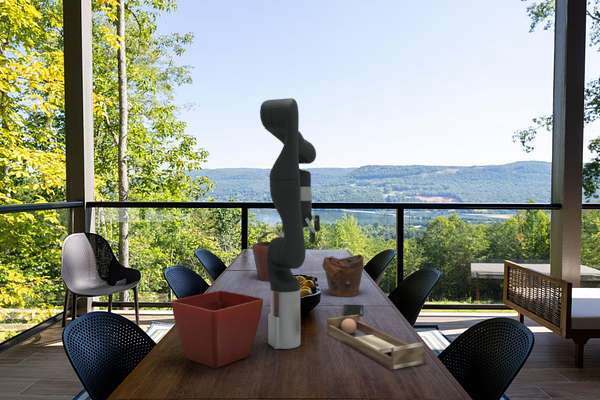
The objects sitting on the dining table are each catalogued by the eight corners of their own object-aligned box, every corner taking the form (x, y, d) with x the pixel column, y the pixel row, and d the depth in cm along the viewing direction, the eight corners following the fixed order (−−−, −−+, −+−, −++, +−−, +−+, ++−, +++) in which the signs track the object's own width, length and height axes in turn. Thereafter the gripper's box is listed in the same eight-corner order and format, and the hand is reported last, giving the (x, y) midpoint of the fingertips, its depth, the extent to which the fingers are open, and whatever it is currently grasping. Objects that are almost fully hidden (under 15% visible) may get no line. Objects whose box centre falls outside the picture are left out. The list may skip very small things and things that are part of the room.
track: (391, 370, 128) (391, 348, 128) (327, 333, 160) (327, 315, 160) (426, 363, 133) (426, 341, 133) (358, 329, 165) (358, 311, 165)
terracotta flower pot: (313, 293, 219) (314, 254, 218) (343, 287, 232) (344, 250, 232) (341, 301, 206) (342, 259, 205) (372, 294, 219) (372, 255, 218)
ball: (336, 324, 161) (342, 316, 158) (349, 322, 163) (355, 314, 160) (342, 337, 158) (347, 330, 155) (354, 335, 160) (361, 328, 157)
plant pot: (221, 342, 151) (220, 289, 151) (265, 356, 139) (265, 298, 138) (169, 359, 136) (169, 300, 136) (214, 376, 124) (213, 311, 124)
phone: (363, 305, 195) (363, 314, 181) (363, 307, 195) (363, 317, 181) (343, 304, 196) (342, 313, 182) (343, 307, 197) (342, 316, 182)
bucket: (248, 276, 262) (247, 230, 261) (285, 273, 271) (285, 229, 270) (264, 284, 240) (263, 234, 239) (303, 280, 249) (303, 232, 248)
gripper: (314, 198, 181) (314, 241, 181) (279, 199, 175) (279, 243, 175) (323, 199, 174) (323, 244, 174) (287, 199, 168) (287, 246, 168)
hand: (301, 243), depth 175 cm, fingers open, 8 cm apart
